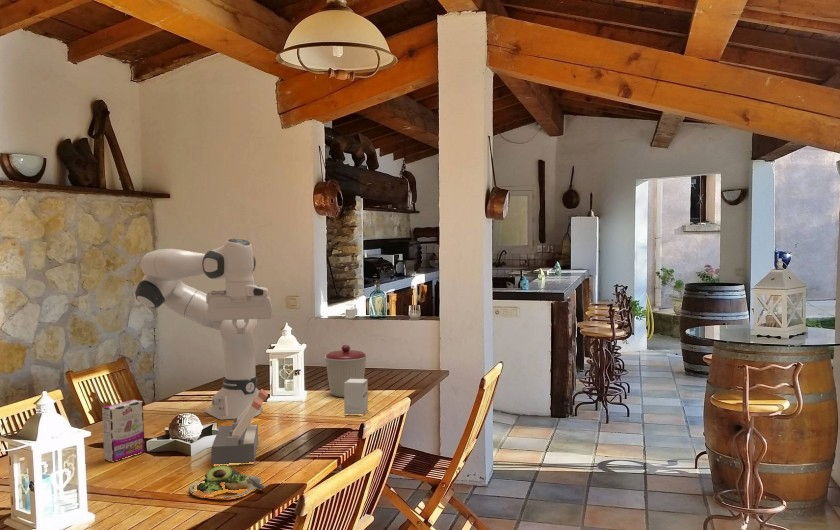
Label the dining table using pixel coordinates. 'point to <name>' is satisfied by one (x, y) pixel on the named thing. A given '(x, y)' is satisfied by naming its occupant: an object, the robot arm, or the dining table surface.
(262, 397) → the lever
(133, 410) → the candy bar box
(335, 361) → the canister
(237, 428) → the lever
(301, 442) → the dining table surface
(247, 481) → the salad plate
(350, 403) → the supplement box
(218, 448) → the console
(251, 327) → the robot arm
